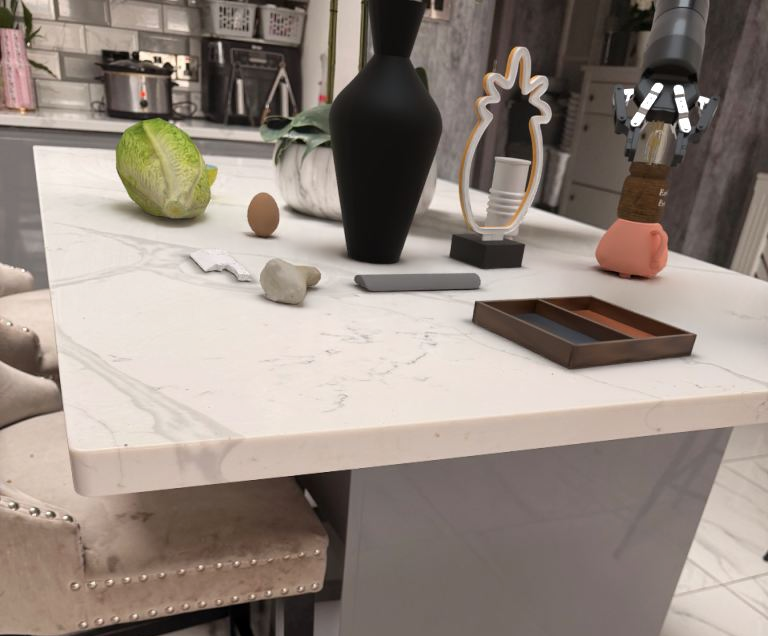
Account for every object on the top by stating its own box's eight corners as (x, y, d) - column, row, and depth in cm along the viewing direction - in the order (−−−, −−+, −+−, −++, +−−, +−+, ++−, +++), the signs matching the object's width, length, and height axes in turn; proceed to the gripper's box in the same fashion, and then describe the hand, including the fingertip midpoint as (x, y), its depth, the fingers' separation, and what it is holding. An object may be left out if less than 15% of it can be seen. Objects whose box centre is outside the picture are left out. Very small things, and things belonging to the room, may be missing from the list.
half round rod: (351, 284, 106) (352, 271, 105) (466, 282, 115) (468, 270, 114) (365, 292, 103) (366, 278, 102) (482, 289, 112) (484, 276, 111)
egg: (241, 235, 128) (241, 191, 125) (255, 231, 133) (256, 188, 130) (270, 240, 127) (271, 196, 124) (284, 236, 132) (285, 193, 128)
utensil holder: (617, 220, 101) (640, 119, 95) (613, 214, 107) (635, 118, 101) (662, 226, 101) (688, 124, 95) (656, 219, 106) (681, 123, 100)
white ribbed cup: (516, 248, 146) (531, 163, 138) (480, 243, 146) (493, 158, 139) (517, 242, 151) (532, 160, 144) (482, 238, 152) (495, 155, 145)
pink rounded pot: (632, 265, 142) (646, 207, 137) (683, 284, 131) (702, 222, 126) (578, 264, 138) (591, 204, 133) (627, 284, 127) (644, 219, 122)
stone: (303, 308, 93) (305, 267, 90) (253, 302, 93) (253, 261, 91) (321, 287, 103) (322, 250, 100) (275, 282, 103) (276, 245, 101)
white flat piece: (213, 281, 100) (213, 272, 99) (189, 255, 111) (188, 248, 111) (251, 280, 102) (251, 271, 101) (223, 255, 113) (223, 248, 113)
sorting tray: (586, 314, 105) (591, 295, 104) (690, 355, 92) (697, 334, 91) (471, 321, 96) (474, 300, 94) (570, 369, 83) (575, 345, 81)
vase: (386, 245, 134) (410, 9, 117) (446, 268, 122) (482, 9, 105) (301, 247, 125) (313, -9, 108) (357, 272, 113) (380, -11, 96)
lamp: (503, 254, 138) (538, 52, 123) (537, 266, 132) (579, 54, 117) (431, 257, 129) (459, 39, 114) (464, 269, 123) (498, 40, 108)
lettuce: (223, 250, 134) (129, 255, 130) (203, 185, 150) (118, 187, 145) (219, 166, 123) (116, 168, 119) (198, 104, 139) (106, 104, 134)
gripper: (624, 27, 100) (601, 131, 96) (737, 37, 98) (719, 145, 93) (613, 74, 107) (592, 173, 103) (719, 85, 105) (702, 187, 101)
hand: (653, 159), depth 98 cm, fingers closed on utensil holder, 5 cm apart
